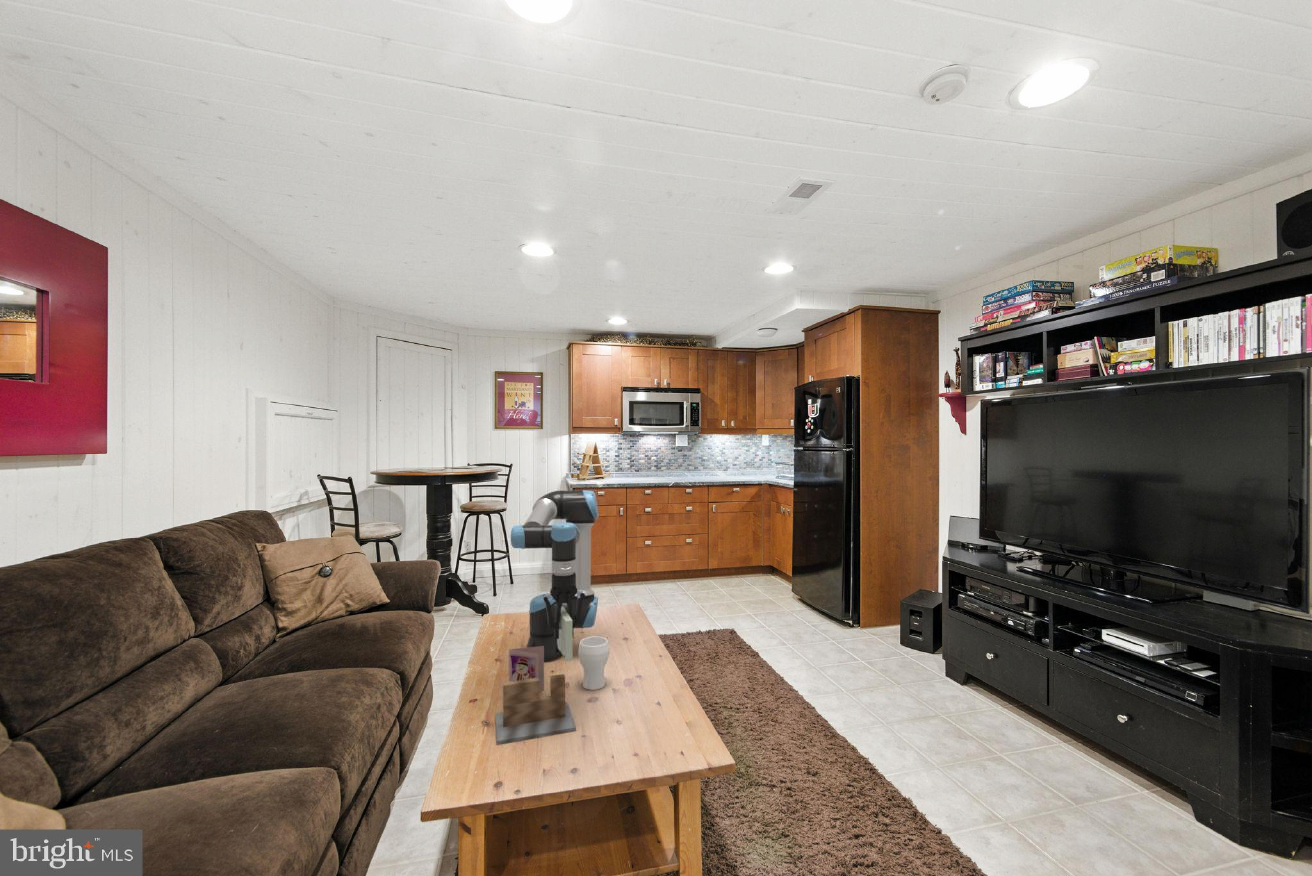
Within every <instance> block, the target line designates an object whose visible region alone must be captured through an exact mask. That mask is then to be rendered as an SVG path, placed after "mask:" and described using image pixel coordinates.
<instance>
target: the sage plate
mask: <svg viewBox="0 0 1312 876" xmlns="http://www.w3.org/2000/svg"><path fill="white" fill-rule="evenodd" d="M559 626H560V627H561V629H562V650H560V651H561V653H562V655H563V656H564V661H565V662H571V661H572V662H573V637H572V619H571V618H570V616H569V614H568V613H567V611H566V610H565V608H564V607H563V606H562V607H561V615H560V625H559ZM557 644H558V639H557Z"/></svg>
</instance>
